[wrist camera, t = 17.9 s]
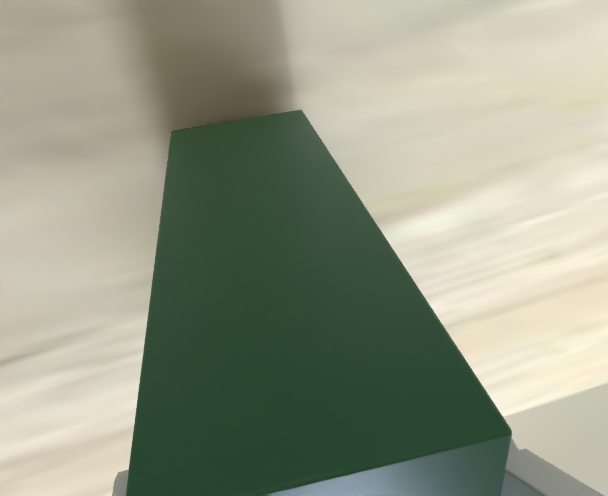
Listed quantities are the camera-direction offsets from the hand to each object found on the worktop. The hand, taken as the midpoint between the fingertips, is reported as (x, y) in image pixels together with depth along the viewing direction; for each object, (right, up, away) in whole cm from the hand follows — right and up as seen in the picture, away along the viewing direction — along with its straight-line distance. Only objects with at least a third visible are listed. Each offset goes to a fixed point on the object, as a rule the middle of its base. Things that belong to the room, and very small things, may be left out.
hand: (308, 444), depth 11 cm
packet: (0, -2, +6) cm, 7 cm away
